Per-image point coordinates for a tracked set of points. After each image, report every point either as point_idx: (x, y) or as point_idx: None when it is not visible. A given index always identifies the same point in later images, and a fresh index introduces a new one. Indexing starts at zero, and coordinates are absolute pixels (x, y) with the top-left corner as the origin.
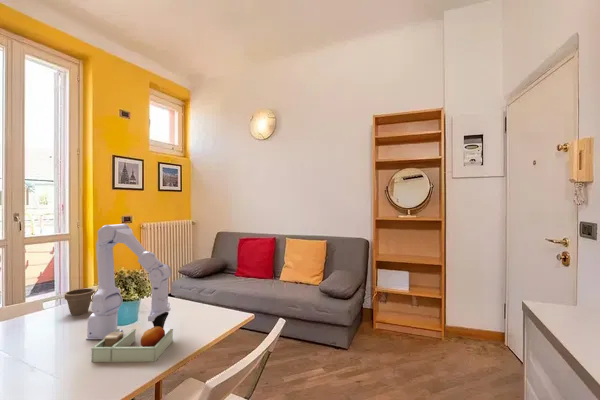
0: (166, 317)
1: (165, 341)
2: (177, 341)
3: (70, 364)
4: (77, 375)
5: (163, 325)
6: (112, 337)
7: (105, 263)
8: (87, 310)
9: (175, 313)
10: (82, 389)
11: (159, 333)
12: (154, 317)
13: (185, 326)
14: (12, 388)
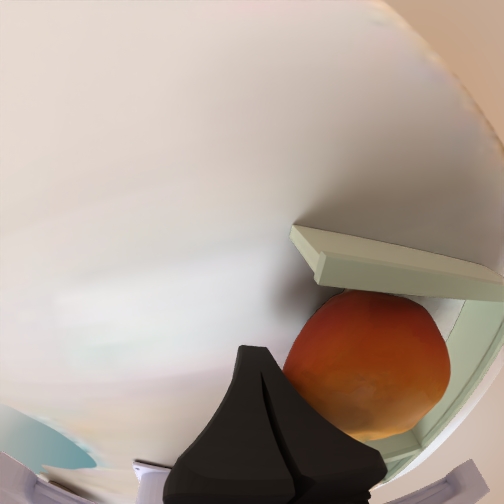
0: (218, 438)
1: (441, 267)
2: (311, 180)
3: None
4: None
5: (253, 383)
6: (373, 488)
7: None
8: (54, 484)
9: None
10: (485, 385)
11: (445, 346)
12: (473, 484)
13: (34, 183)
14: (404, 472)
